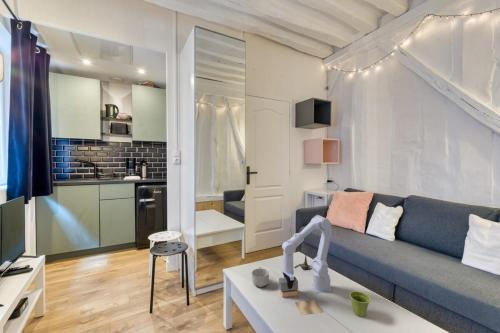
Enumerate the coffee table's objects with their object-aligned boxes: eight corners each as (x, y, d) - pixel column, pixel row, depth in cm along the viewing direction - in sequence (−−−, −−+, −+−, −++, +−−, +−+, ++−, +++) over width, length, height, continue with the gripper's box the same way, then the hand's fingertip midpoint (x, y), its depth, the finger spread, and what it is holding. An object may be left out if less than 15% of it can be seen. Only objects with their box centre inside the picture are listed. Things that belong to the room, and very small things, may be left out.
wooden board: (315, 300, 126) (315, 299, 126) (323, 312, 116) (323, 312, 116) (294, 302, 125) (294, 302, 125) (301, 315, 115) (301, 314, 115)
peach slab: (294, 290, 136) (294, 285, 136) (297, 296, 130) (297, 291, 130) (279, 291, 135) (279, 286, 135) (282, 298, 129) (282, 292, 129)
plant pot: (352, 304, 122) (352, 288, 122) (371, 311, 116) (372, 295, 116) (347, 314, 115) (347, 297, 115) (367, 322, 109) (367, 305, 109)
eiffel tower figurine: (319, 269, 161) (319, 250, 160) (313, 275, 153) (313, 256, 152) (299, 263, 170) (299, 245, 170) (293, 268, 162) (293, 250, 162)
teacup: (267, 290, 136) (267, 277, 136) (250, 288, 139) (250, 275, 138) (270, 277, 150) (270, 266, 150) (254, 276, 152) (254, 264, 152)
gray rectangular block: (295, 284, 135) (295, 276, 135) (298, 289, 130) (298, 281, 130) (279, 286, 134) (278, 278, 134) (281, 291, 129) (281, 282, 129)
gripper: (278, 257, 138) (278, 279, 139) (285, 269, 124) (285, 293, 124) (289, 256, 139) (289, 278, 140) (297, 268, 125) (297, 292, 125)
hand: (288, 285), depth 132 cm, fingers closed on gray rectangular block, 5 cm apart
